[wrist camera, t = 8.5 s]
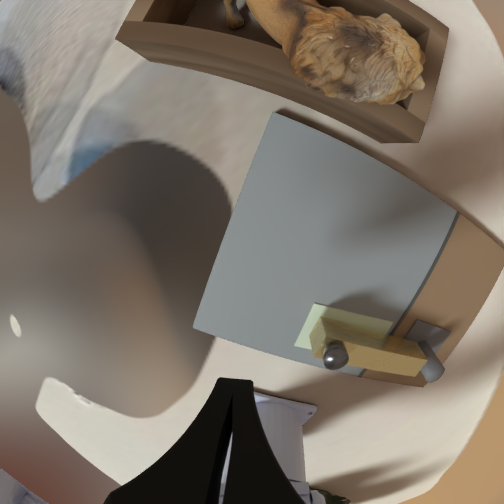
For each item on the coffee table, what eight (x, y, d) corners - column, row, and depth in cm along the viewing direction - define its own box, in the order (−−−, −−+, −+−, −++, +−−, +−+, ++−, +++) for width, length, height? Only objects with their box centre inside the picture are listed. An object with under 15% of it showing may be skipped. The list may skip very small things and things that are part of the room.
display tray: (381, 143, 16) (418, 142, 11) (149, 61, 14) (115, 38, 10) (413, 49, 13) (449, 28, 8) (198, -26, 11) (181, -62, 7)
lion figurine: (385, 93, 14) (468, 61, 6) (329, 139, 16) (391, 130, 7) (231, -35, 11) (211, -111, 3) (174, 5, 12) (121, -63, 4)
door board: (420, 382, 23) (435, 411, 19) (194, 321, 21) (180, 359, 17) (504, 251, 17) (533, 270, 13) (272, 113, 15) (274, 100, 11)
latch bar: (416, 342, 19) (433, 368, 16) (405, 358, 20) (419, 385, 16) (320, 315, 18) (328, 346, 15) (309, 335, 19) (315, 367, 16)
